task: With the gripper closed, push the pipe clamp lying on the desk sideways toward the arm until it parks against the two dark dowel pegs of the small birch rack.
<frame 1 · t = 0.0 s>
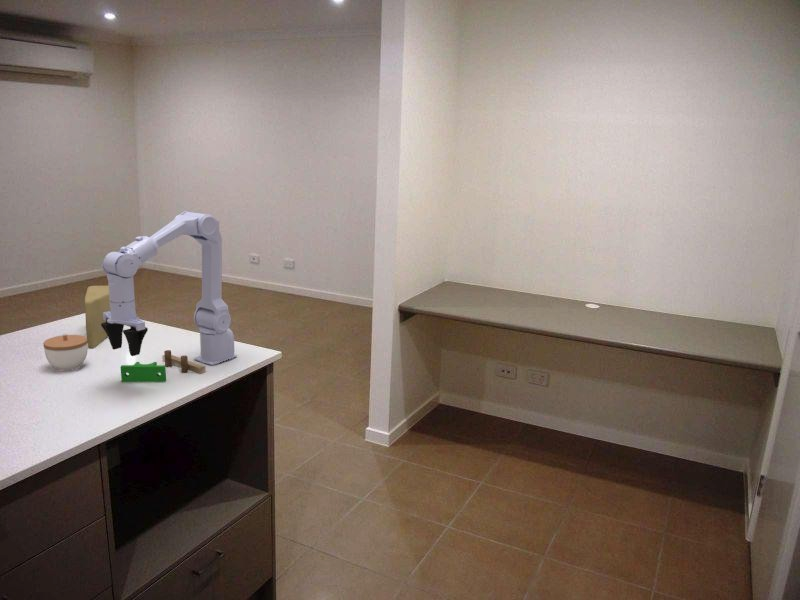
hand: (125, 351, 154), 10 cm above the worktop, tool pointing down, fingers open, 7 cm apart
peg rack: (178, 368, 172), on the worktop
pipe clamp: (145, 380, 163), on the worktop
cheese: (99, 338, 194), on the worktop
lidded jar: (68, 367, 169), on the worktop
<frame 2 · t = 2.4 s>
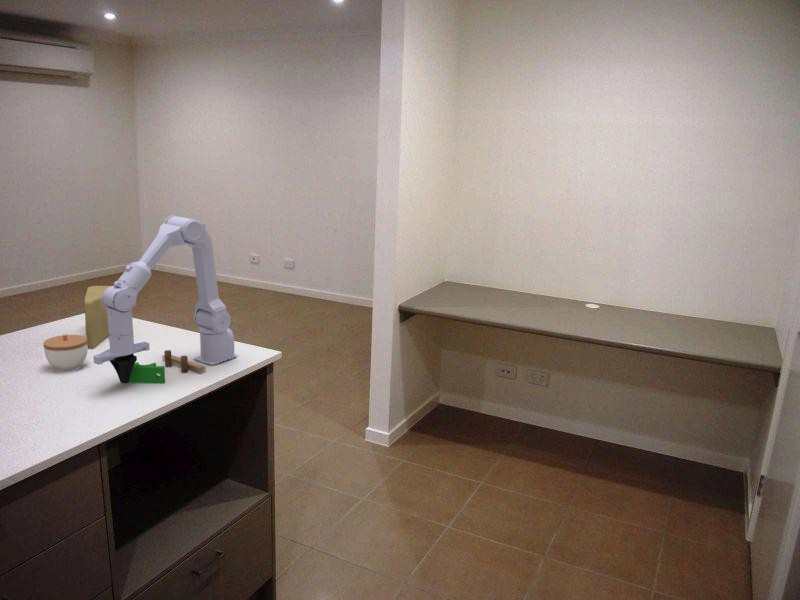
hand: (124, 382, 158), 1 cm above the worktop, tool pointing down, fingers closed
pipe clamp: (144, 381, 162), on the worktop, touching gripper
everything else where it was.
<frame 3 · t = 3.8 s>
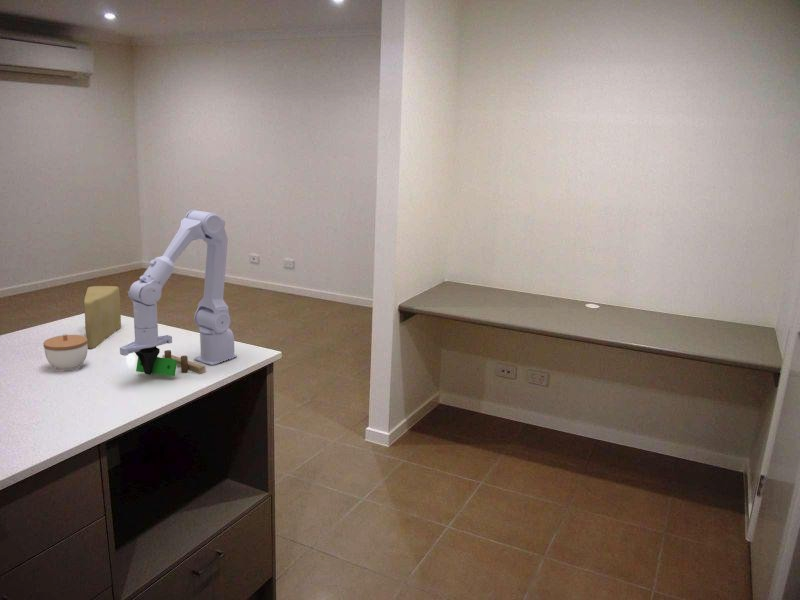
hand: (148, 374, 164), 1 cm above the worktop, tool pointing down, fingers closed, pressing on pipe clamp
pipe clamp: (158, 374, 166), on the worktop, touching gripper
everything else where it was.
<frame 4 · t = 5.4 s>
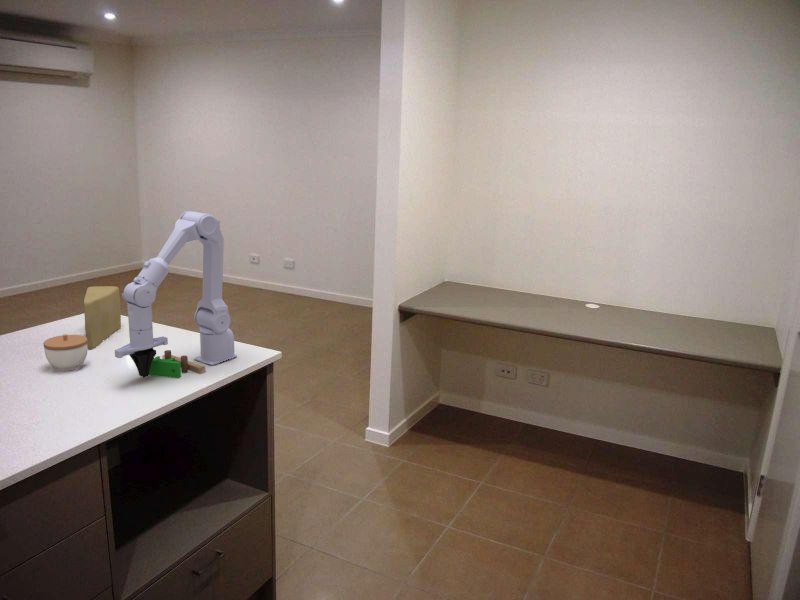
hand: (143, 376, 163), 1 cm above the worktop, tool pointing down, fingers closed
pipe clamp: (163, 375, 167), on the worktop
everything else where it was.
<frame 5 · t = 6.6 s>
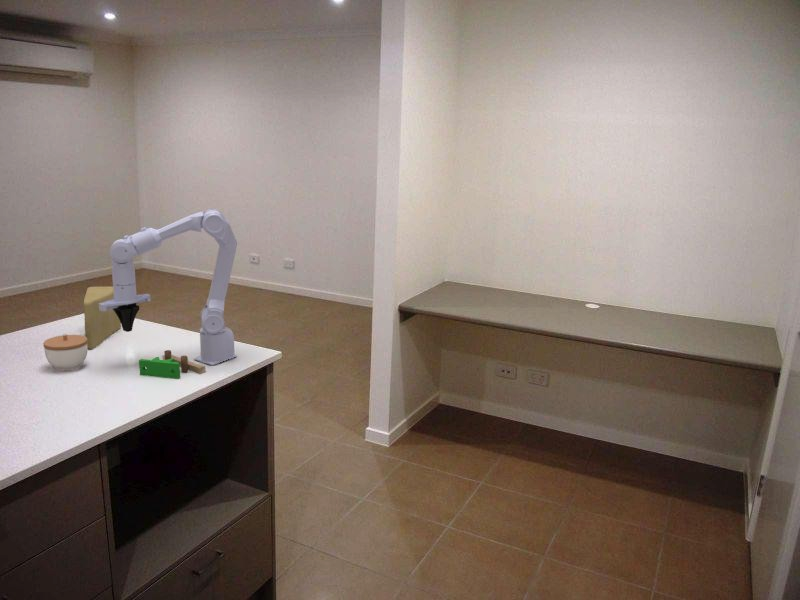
hand: (127, 330, 170), 10 cm above the worktop, tool pointing down, fingers closed
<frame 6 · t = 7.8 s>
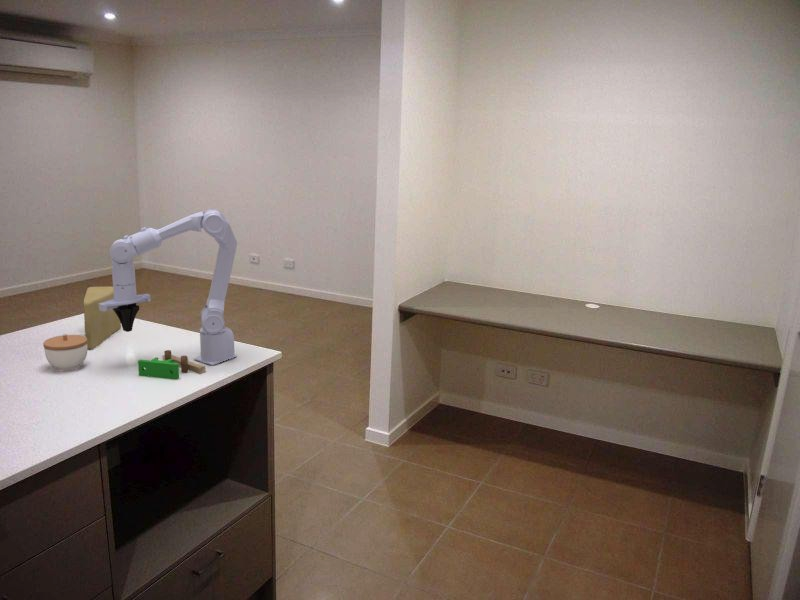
hand: (127, 330, 170), 10 cm above the worktop, tool pointing down, fingers closed
at the end: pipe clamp 1.8 cm from the target spot on the worktop beside the peg rack, on the worktop; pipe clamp moved 4.4 cm from its start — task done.
